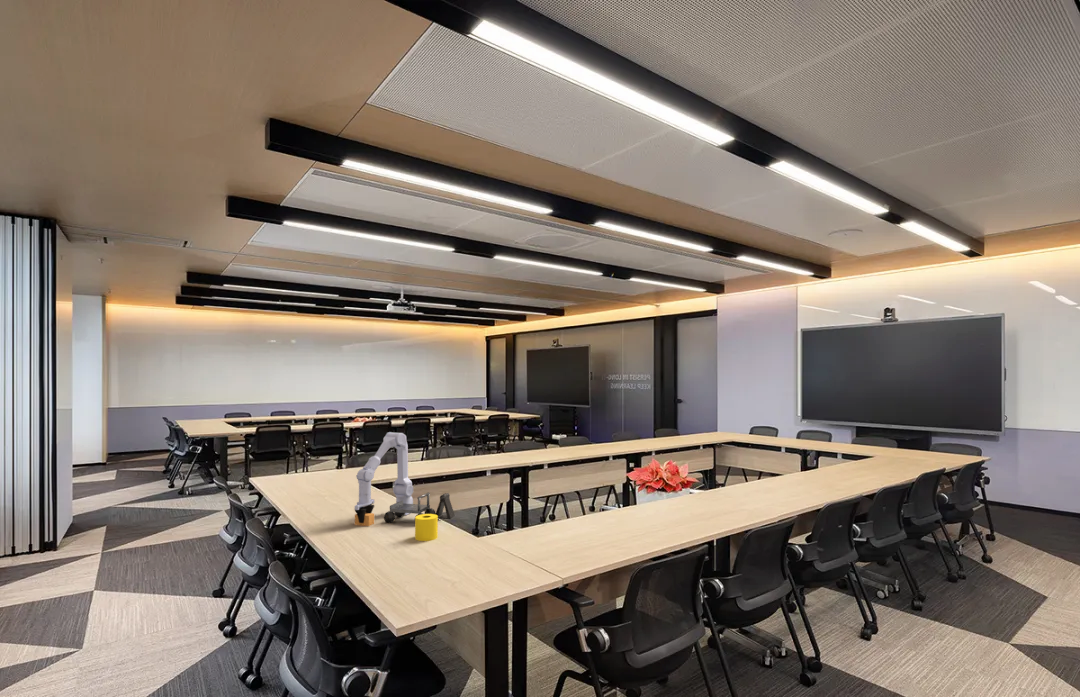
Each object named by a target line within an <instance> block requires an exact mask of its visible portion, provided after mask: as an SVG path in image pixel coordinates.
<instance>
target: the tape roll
mask: <svg viewBox="0 0 1080 697" xmlns="http://www.w3.org/2000/svg"><path fill="white" fill-rule="evenodd" d="M415 516H416V515H415ZM414 523H415V524H414V525H415V526H414V540H416V541H419V542H429V541H430V542H431V541H434V540H437V539H438V538H439V536H438V535H439V534H438V529H439V526H438V524H439V522H438V516H437V515H435V514H424V513H423V514H422V515H418V516H416V517H414Z"/></svg>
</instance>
